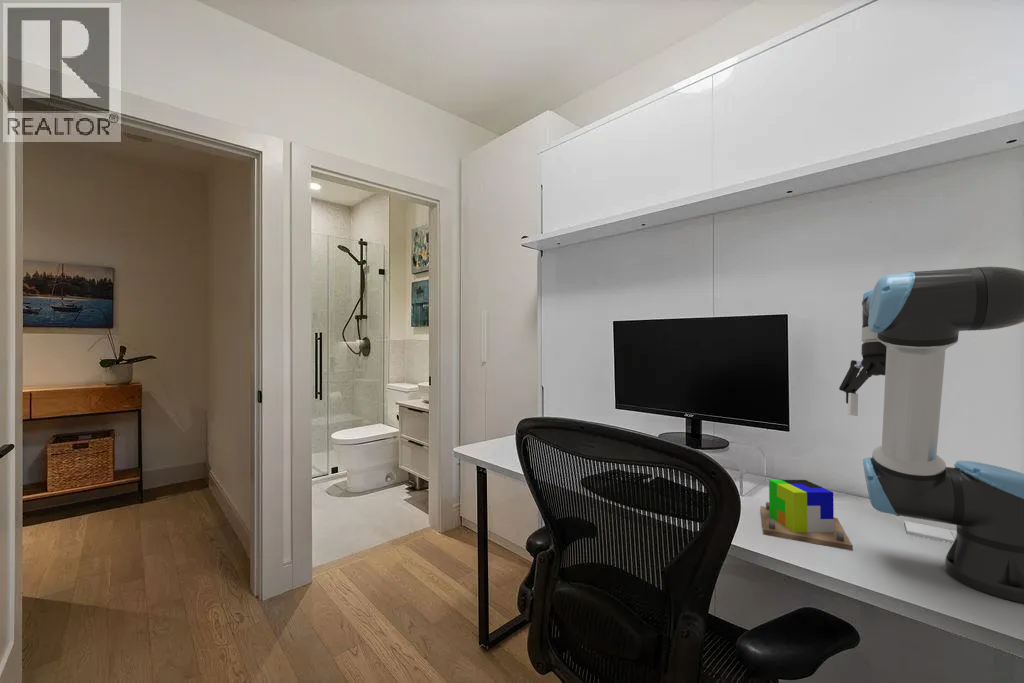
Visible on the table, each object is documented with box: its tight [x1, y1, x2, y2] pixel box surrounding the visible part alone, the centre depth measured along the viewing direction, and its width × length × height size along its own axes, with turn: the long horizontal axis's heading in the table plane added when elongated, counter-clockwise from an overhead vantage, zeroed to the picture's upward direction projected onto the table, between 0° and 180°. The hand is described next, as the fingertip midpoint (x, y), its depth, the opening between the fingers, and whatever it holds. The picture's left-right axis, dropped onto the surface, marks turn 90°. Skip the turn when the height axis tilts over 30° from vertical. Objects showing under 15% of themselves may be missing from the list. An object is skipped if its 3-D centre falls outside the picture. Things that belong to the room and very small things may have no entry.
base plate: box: [760, 501, 854, 551], centre depth 110 cm, size 18×18×3 cm
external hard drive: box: [903, 520, 957, 544], centre depth 106 cm, size 2×8×12 cm
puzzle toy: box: [768, 479, 835, 532], centre depth 110 cm, size 10×10×10 cm
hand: (877, 417), depth 118 cm, fingers open, 13 cm apart
